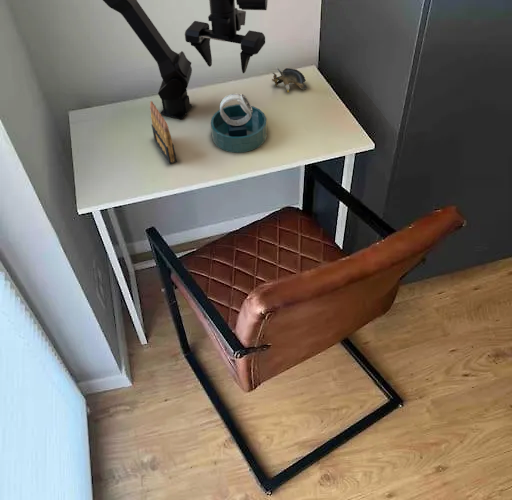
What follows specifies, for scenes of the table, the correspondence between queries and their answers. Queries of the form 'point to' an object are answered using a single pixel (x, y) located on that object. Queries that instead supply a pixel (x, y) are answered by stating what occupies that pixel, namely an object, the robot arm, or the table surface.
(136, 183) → the table surface
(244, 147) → the bowl
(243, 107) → the watch
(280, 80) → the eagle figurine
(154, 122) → the ammunition clip
